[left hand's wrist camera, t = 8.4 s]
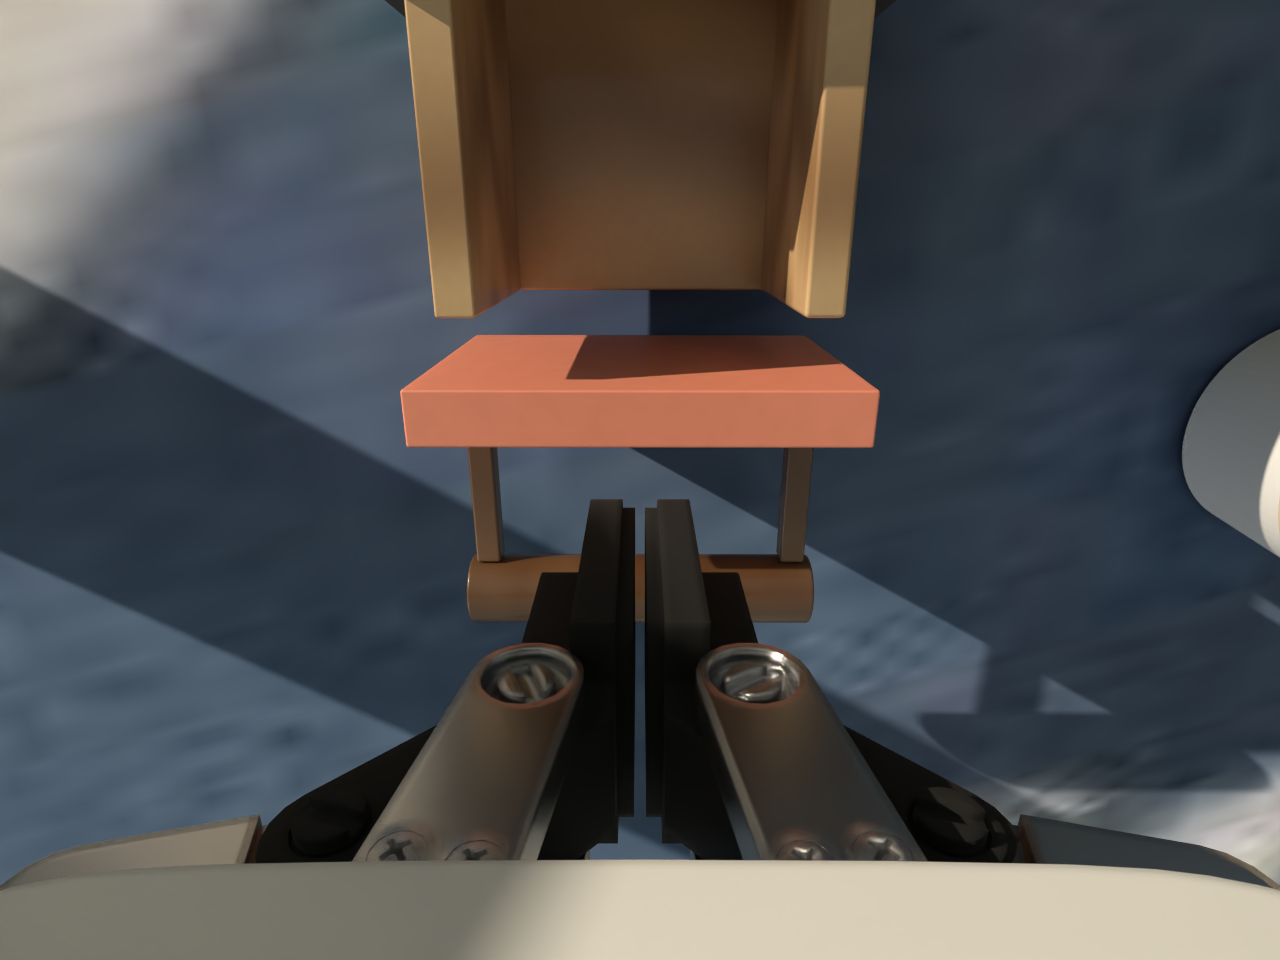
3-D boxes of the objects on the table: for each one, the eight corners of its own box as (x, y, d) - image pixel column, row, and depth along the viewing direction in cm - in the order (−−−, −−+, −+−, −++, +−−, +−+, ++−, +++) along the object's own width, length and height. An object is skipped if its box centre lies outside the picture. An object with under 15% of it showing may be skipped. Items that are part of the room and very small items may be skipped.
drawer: (789, 544, 23) (847, 675, 16) (492, 544, 23) (433, 674, 17) (877, -563, 14) (1071, -1207, 8) (405, -561, 14) (210, -1199, 8)
